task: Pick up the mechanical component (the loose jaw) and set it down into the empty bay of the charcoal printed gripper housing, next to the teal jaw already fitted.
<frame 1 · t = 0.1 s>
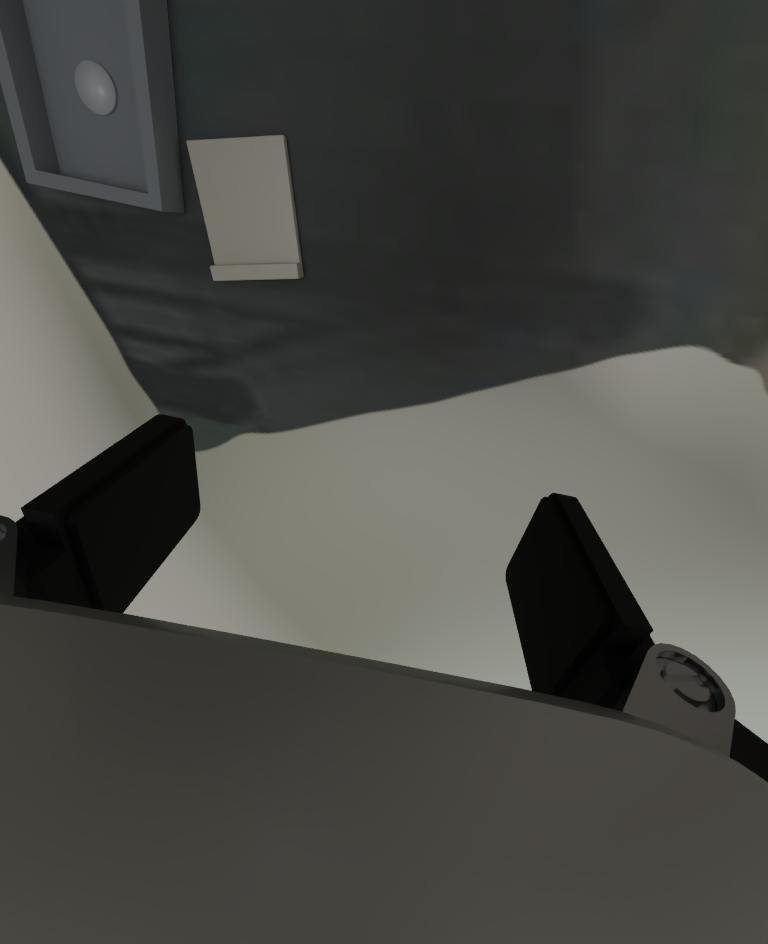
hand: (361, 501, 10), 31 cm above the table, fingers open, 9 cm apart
lid plate: (251, 214, 34), on the table
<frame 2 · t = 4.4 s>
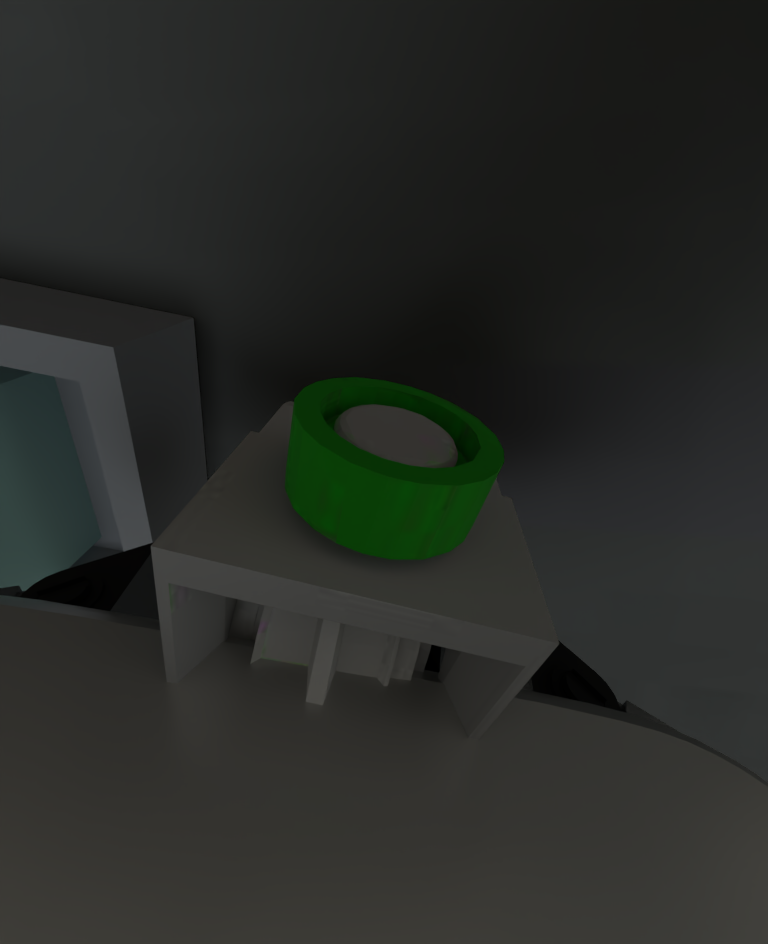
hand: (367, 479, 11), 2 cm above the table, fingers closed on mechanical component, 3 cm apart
mechanical component: (375, 441, 13), on the table, touching gripper
housing: (98, 564, 18), on the table
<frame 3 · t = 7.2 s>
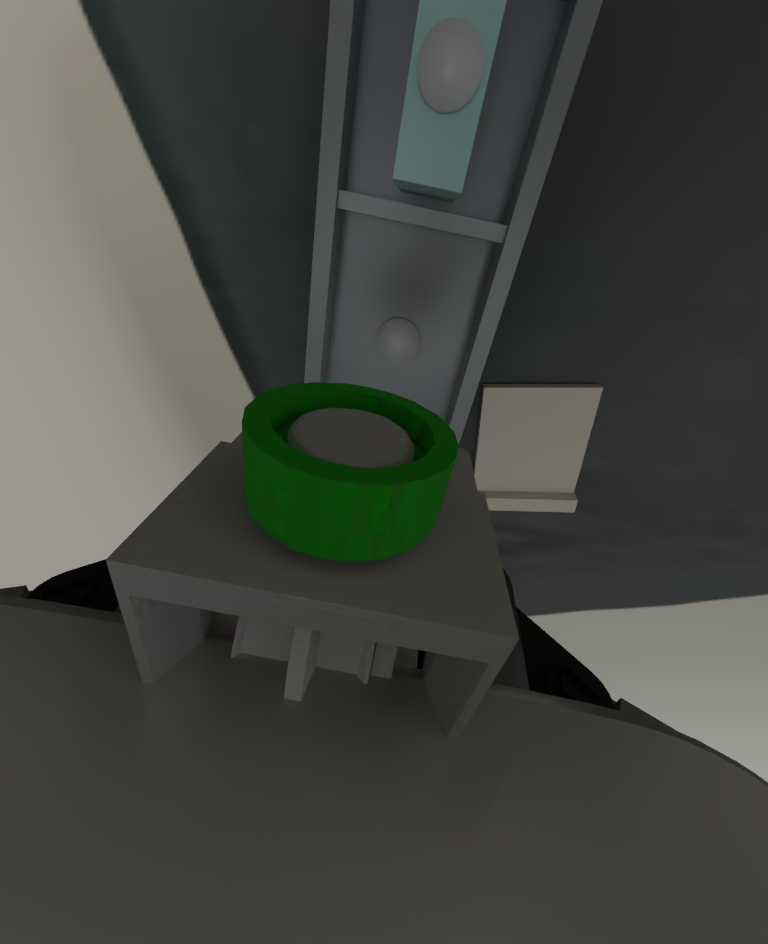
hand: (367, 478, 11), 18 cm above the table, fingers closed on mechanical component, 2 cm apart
lid plate: (528, 445, 30), on the table
mechanical component: (374, 444, 13), point 16 cm above the table, touching gripper
housing: (414, 256, 24), on the table
when the fingers open (4 cm above the table, at t = 10.1 s): mechanical component stays where it is, resting on housing.
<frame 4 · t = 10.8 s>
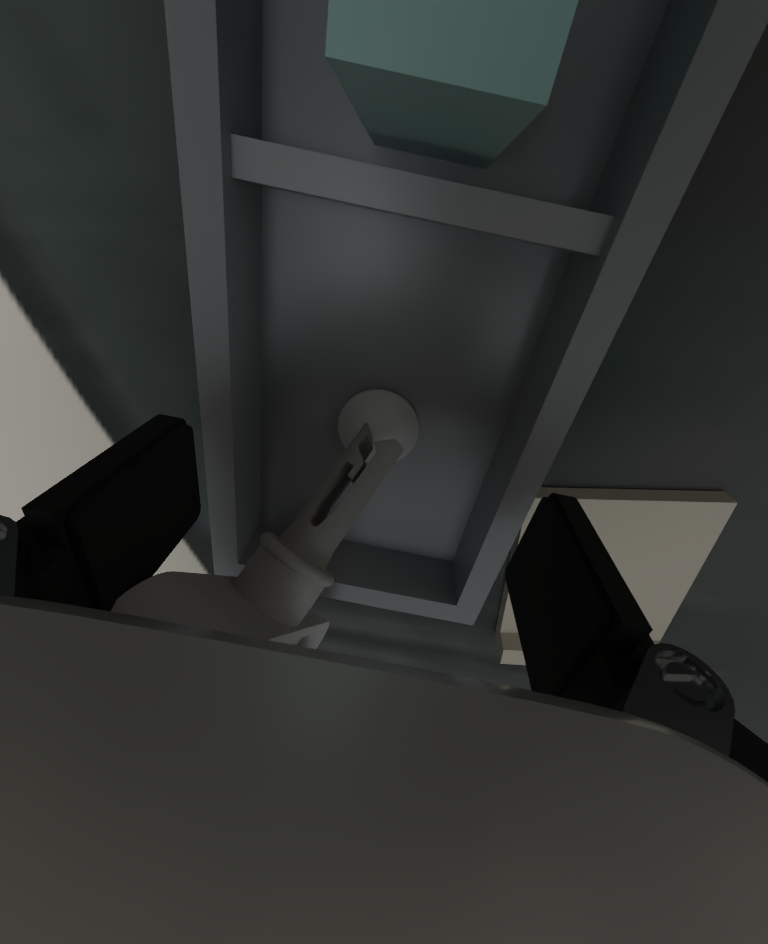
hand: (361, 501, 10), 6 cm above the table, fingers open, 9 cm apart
lid plate: (591, 573, 19), on the table
mechanical component: (387, 432, 13), point 3 cm above the table, touching gripper, housing
housing: (407, 277, 13), on the table
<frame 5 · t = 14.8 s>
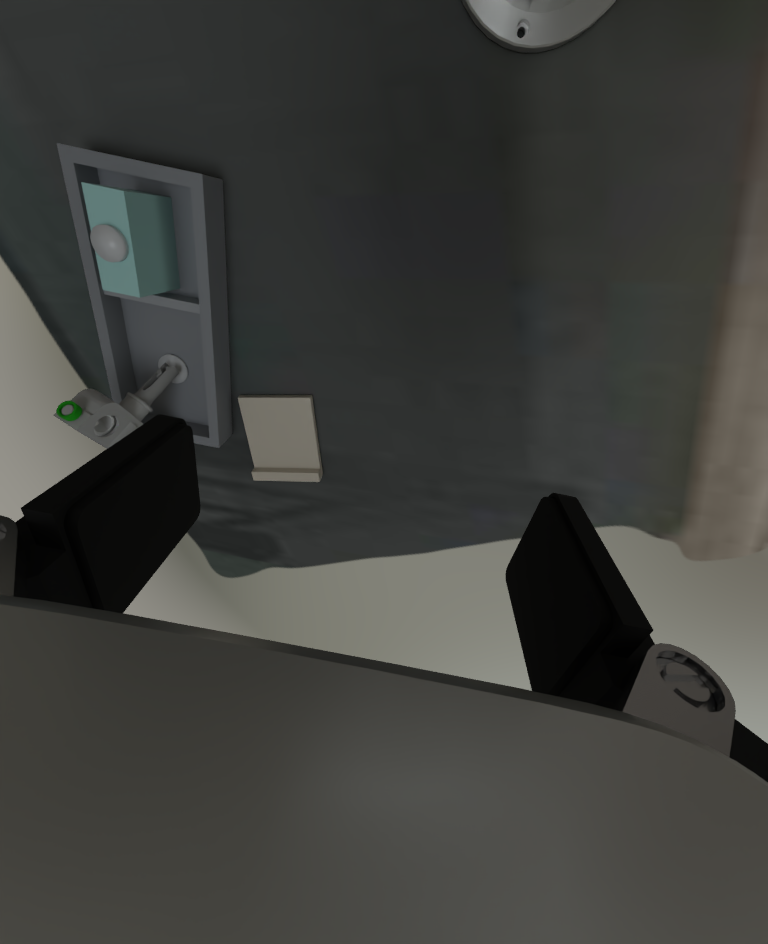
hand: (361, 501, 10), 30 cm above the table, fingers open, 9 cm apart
lid plate: (283, 436, 44), on the table
mechanical component: (173, 366, 39), point 2 cm above the table, touching housing
housing: (173, 316, 38), on the table
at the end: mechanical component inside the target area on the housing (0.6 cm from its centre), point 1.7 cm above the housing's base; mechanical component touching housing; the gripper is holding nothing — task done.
